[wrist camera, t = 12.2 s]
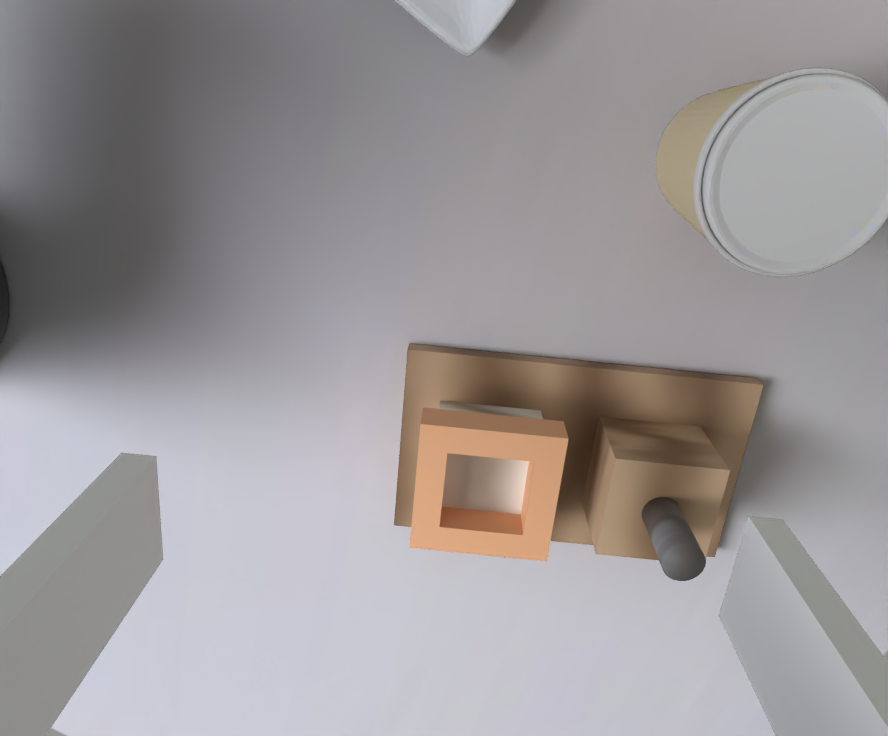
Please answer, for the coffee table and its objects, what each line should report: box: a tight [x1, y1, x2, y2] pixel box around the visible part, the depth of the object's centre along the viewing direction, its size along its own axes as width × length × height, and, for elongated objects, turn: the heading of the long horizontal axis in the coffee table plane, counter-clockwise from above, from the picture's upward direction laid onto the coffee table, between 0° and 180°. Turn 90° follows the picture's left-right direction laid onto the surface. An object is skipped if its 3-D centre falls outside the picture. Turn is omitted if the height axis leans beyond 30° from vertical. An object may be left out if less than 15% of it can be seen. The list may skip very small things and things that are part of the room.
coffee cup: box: [656, 68, 888, 277], centre depth 37 cm, size 9×9×12 cm
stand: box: [394, 344, 764, 581], centre depth 44 cm, size 24×14×12 cm, turn 85°
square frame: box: [410, 407, 569, 561], centre depth 45 cm, size 9×9×2 cm
